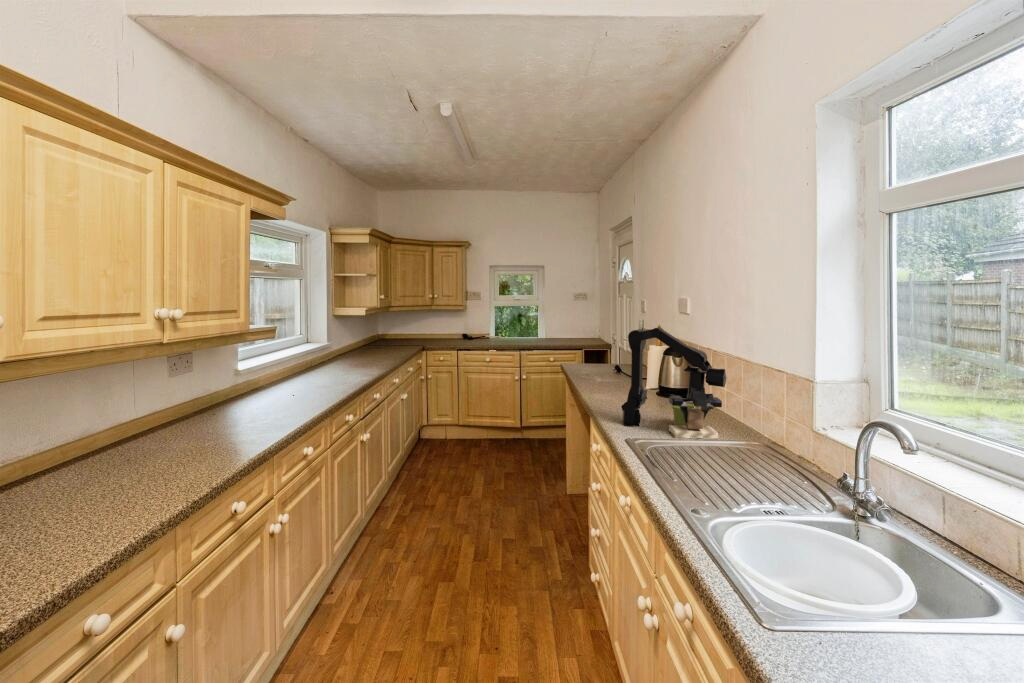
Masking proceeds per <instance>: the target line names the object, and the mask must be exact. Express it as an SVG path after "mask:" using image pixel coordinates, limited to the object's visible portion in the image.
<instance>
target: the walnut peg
mask: <svg viewBox="0 0 1024 683" xmlns="http://www.w3.org/2000/svg"><path fill="white" fill-rule="evenodd" d="M703 419H704V420H705V418H704V412H703V411H701V408H695V409H687V423H686V422H685V421H684V425H685V426H686V427H687V428H688V430H689V431H698V429H703V426H704V421H703Z"/></svg>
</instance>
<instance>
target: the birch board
mask: <svg viewBox="0 0 1024 683" xmlns="http://www.w3.org/2000/svg"><path fill="white" fill-rule="evenodd" d="M668 426H669V428H668V432H671V433H672V434H673V435H674V436H675V437H674V436H673V435H672V434H671V433H670V434H671V435H672V436H673V437H674V439H682V438H684V437H685V438H690V437H694V438H718V439H719V433H718V431H716V430H715V429H714V428H712V427H711V425H710V426H708V425H707V426H704V425H703V429H698V431H689V430H688V428H687V427H686V426H685V425H674V424H669V425H668Z"/></svg>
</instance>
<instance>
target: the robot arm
mask: <svg viewBox="0 0 1024 683" xmlns="http://www.w3.org/2000/svg"><path fill="white" fill-rule="evenodd" d="M650 339H657V340H659V341H660V342H661V343H663V344H665V345H666V346H668V347H669V348H671V350H674V351H675V352H677V353H679V355H681V356H682V357H683V359H684V360H685V361H686V362H687V363H688V365H687V367H686V368H684V369H683V371H684V372H686V373H687V372H688V374H689V375H688V384H687V394H686V398H684V397H682V396H680V395H670V396H669V397H668V403H669V404H670V405H674V406H679V407H680V408H681V411H682V414H683V417H684V420H685V422H686V423H687V409H688V407H687V406H686V404H690V405H692V404H693V406H695V408H696V407H697V408H699V407H700V410H701V411H703V412H704V419H703V422H704V421H705V419H706V416H707V415H708V413H709V411H710V410H714V408H722V407H723V401H722V400H721V399H720V398H719V397H717V396H714V394H713V393H706V388H705V383H706V384H707V385H708V386H713V387H720V388H725V387H726V384H727V373H726V369H725V368H715V367H713V366H712V365H711V363H710V362H709V361H708V356H707V354H706V352H704V351H702V350H700V349H698V348H696V347H692V346H689V345H687V344H686V343H684V342H683V341H681V340H679V338H676V337H675V336H674V335H672V334H670V333H669V332H667V331H666V330H664V329H663V328H662V327H654V328H651V329H648V330H643V329H639V328H638V329H634V330H631V331H630V332H629V333H628V335H627V340H628V346H629V349H630V351H631V368H630V369H631V370H630V372H631V374H630V376H631V378H630V379H631V383H630V384H631V385H630V389H629V391H628V394H627V399H626V400H627V401H625V402H624V403H623V404H622V405H621V410H622V420H621V422H622V425H623V426H627V427H640V426H641V425H640V424H641V418H642V417H641V413H640V410H639V409H640V408H641V407H642V406H643V405H644V404H645V403H646V400H648V396H647V395H648V394H647V393H648V389H645V388H644V386H643V365H644V364H643V363H644V361H643V359H644V358H643V357H644V356H643V355H644V349H645V347H646V343H647V340H650Z"/></svg>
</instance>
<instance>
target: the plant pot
mask: <svg viewBox="0 0 1024 683" xmlns="http://www.w3.org/2000/svg"><path fill="white" fill-rule="evenodd" d="M670 405H671V407H672V410H673V421H674V422H673V423H674V424H673V425H684V421H685V420H684V417H683V414H682V411H681V408H680V407H679V406H674V405H672V404H670ZM686 406H687V407H688V409H696V406H694V404H693V405H692V404H690V403H686Z"/></svg>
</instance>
